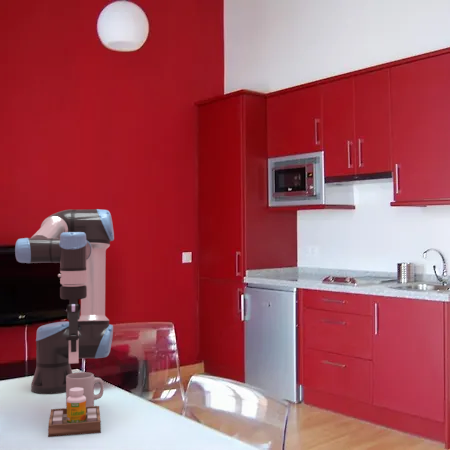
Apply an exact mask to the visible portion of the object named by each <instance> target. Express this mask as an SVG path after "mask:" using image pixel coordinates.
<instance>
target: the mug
mask: <svg viewBox="0 0 450 450" xmlns="http://www.w3.org/2000/svg"><path fill="white" fill-rule="evenodd" d="M96 383H97V384H98V383H99V387H100V390H99V393H96V394H95V384H96ZM76 387H80V388H83V389H84V394H83V395H84V396H85V397H86V407H91V406H95V401H97V400H99V399H101V398H102V397H103V395H104V391H105V389H104V388H105V387H104V380H103V379H102V378H101V377H95V376H94V373H92V372H87V371H86V372H85V371H84V372H83V371H82V372H74V373H73V372H72V374H69V375H67V376H66V392H65V399H66V401H65V404H66V405H65V408H67V398H68V397H69V396H70V395H69V390H70V389H71V388H76Z"/></svg>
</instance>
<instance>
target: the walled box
mask: <svg viewBox="0 0 450 450" xmlns="http://www.w3.org/2000/svg"><path fill="white" fill-rule="evenodd" d="M100 411H101V410H100V406H99V405H94V406H91V407H86V422H81V423H68V424H67V408H66V407H64V408H51V409H50V413H49V420H48V425H47V438H50V437H52V438H53V437H63V436H64V437H65V436H76V435H88V434H99V433H100V434H101V433H102V431H101V429H102V428H101V425H102V424H101V412H100Z"/></svg>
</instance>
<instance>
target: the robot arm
mask: <svg viewBox="0 0 450 450" xmlns="http://www.w3.org/2000/svg"><path fill="white" fill-rule="evenodd" d="M111 214H112V213H111V212H110V211H109V210H108V209H99V208H95V209H71V208H70V209H65V210H61V211H58V212H55V213H52V214H51V215H49V216H48V217H46V218H45V219H44V220H43V221H42V222H41V224H40V228H39V229H38V230H37V231H36V232H35V233H34V234H33V235H32V236H31V237H24V238H23V237H22V238H18V239H17V240H16V242H15V247H14V252H15V253H14V254H15V255H14V256H15V259H16V262H18V263H21V264H25V263H26V264H33V263H34V264H38V263H39V264H41V263H45V264H46V263H50V264H51V263H54V264H57V263H59V264H60V265H59V266H60V267H59V272H60V273H58V274H57V277H58V278H59V280H60V281H59V283H60V285H61V286H60V287H59V297H60V299H61V300H64V301H65V300H67V301H68V303H69V304H66V313H67V320H68V321H57V322H52V323H46V324H44V325H41V326H39V327H38V328H37V330H36V336H35V337H36V339H35V342H36V343H35V345H36V346H35V348H36V349H35V351H36V353H35V354H36V356H35V358H36V360H35V361H36V368H35V372H34V374H33V378H32V381H31V384H30V385H31V388H30V389H31V392H32V393H36V394H42V395H43V394H44V395H45V394H46V395H52V394H53V395H54V394H62V393H66V376H67V375H69V374H72V373H73V370H72V367H71V364H79V363H80V361H79V359H102V358H107V357H108V356H109V355H110V353H111V348H112V343H113V336H114V325H113V324H110V319H109V318H108V317H107V316H106V260H107V258H106V256H107V255H106V253H107V249H108V248H109V247H110V246H111V242H113V241H114V240H115V231H114V225H113V219H112V215H111ZM79 300H80V303H79Z"/></svg>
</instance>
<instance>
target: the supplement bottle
mask: <svg viewBox="0 0 450 450" xmlns="http://www.w3.org/2000/svg"><path fill="white" fill-rule="evenodd" d="M83 394H84V389H83V388H80V387H76V388H71V389H70V390H69V395H70V396H69V397H68V398H67V424H68V423H81V422H86V397H85V396H84V395H83Z"/></svg>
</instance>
